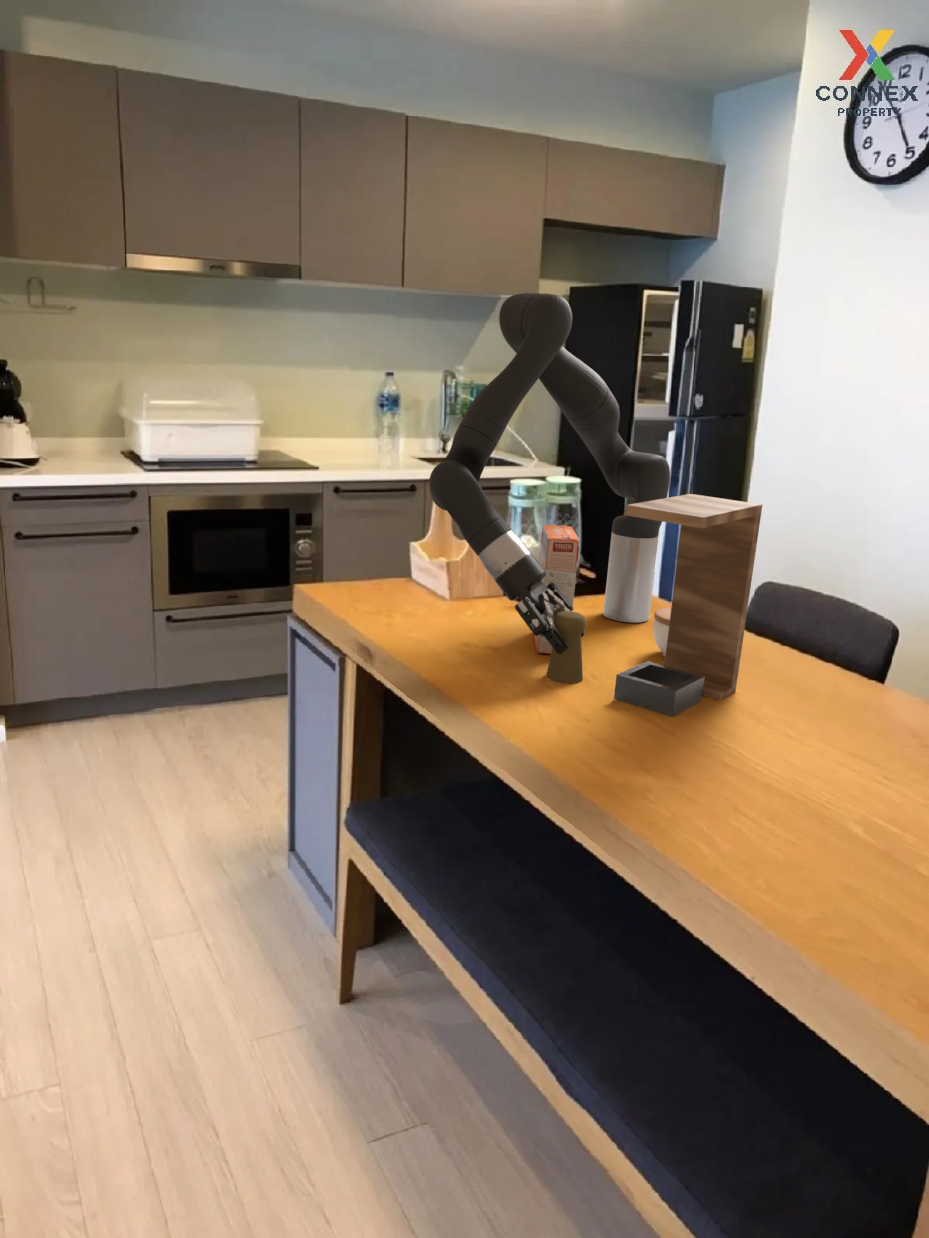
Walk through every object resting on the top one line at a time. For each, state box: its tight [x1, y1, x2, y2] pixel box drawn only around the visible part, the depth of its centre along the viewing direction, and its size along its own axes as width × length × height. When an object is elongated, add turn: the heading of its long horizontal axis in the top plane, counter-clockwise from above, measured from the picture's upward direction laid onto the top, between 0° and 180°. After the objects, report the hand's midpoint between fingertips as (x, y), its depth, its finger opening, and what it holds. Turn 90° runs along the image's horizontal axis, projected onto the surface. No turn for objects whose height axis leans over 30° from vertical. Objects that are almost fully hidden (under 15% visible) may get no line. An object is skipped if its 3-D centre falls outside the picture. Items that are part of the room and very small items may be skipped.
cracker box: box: [532, 524, 581, 655], centre depth 174 cm, size 14×6×21 cm, turn 179°
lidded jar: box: [653, 606, 672, 657], centre depth 173 cm, size 11×11×9 cm
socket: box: [613, 660, 705, 717], centre depth 151 cm, size 10×10×4 cm
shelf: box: [625, 493, 763, 701], centre depth 149 cm, size 21×12×30 cm, turn 142°
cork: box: [545, 610, 587, 685], centre depth 158 cm, size 6×6×11 cm
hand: (572, 644), depth 157 cm, fingers open, 8 cm apart
